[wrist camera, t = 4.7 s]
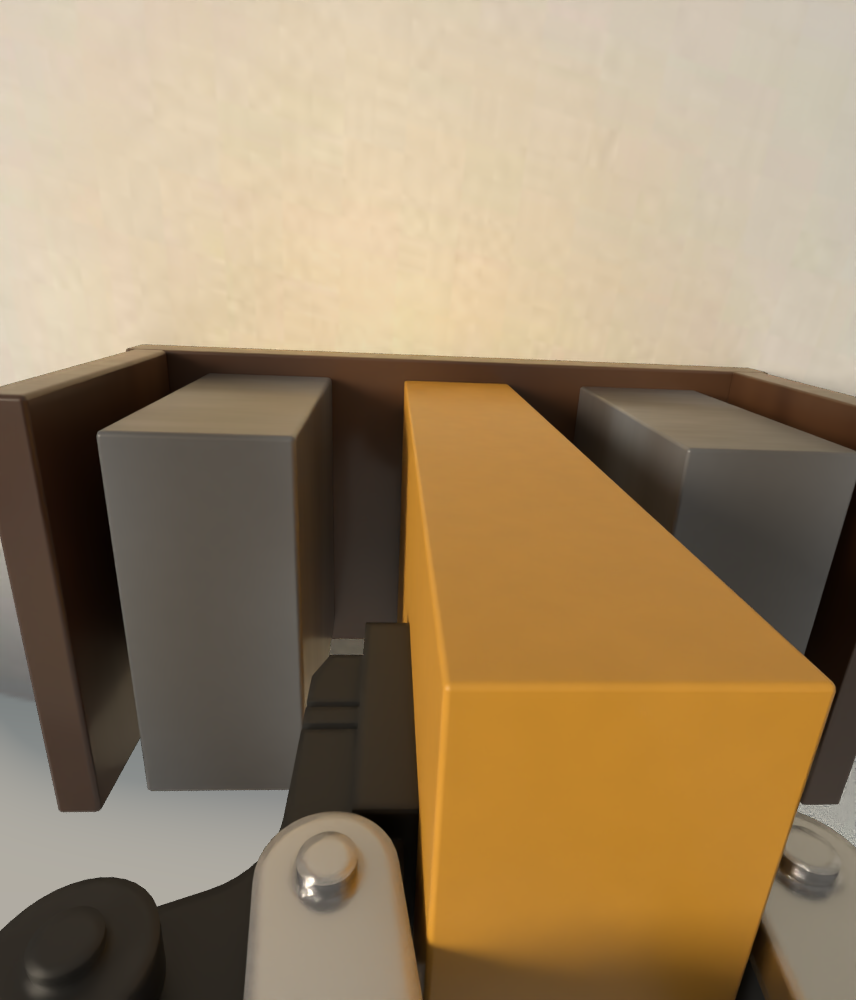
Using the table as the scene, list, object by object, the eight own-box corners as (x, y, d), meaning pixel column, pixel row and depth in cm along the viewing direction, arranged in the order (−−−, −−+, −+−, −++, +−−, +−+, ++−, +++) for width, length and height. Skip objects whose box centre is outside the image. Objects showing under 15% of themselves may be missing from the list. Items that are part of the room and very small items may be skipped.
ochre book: (397, 625, 17) (407, 1262, 6) (404, 380, 15) (442, 685, 4) (487, 626, 18) (657, 1246, 6) (508, 383, 15) (843, 685, 4)
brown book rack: (171, 619, 18) (46, 814, 12) (140, 343, 15) (-49, 392, 9) (692, 624, 19) (848, 805, 13) (748, 367, 16) (986, 426, 10)
